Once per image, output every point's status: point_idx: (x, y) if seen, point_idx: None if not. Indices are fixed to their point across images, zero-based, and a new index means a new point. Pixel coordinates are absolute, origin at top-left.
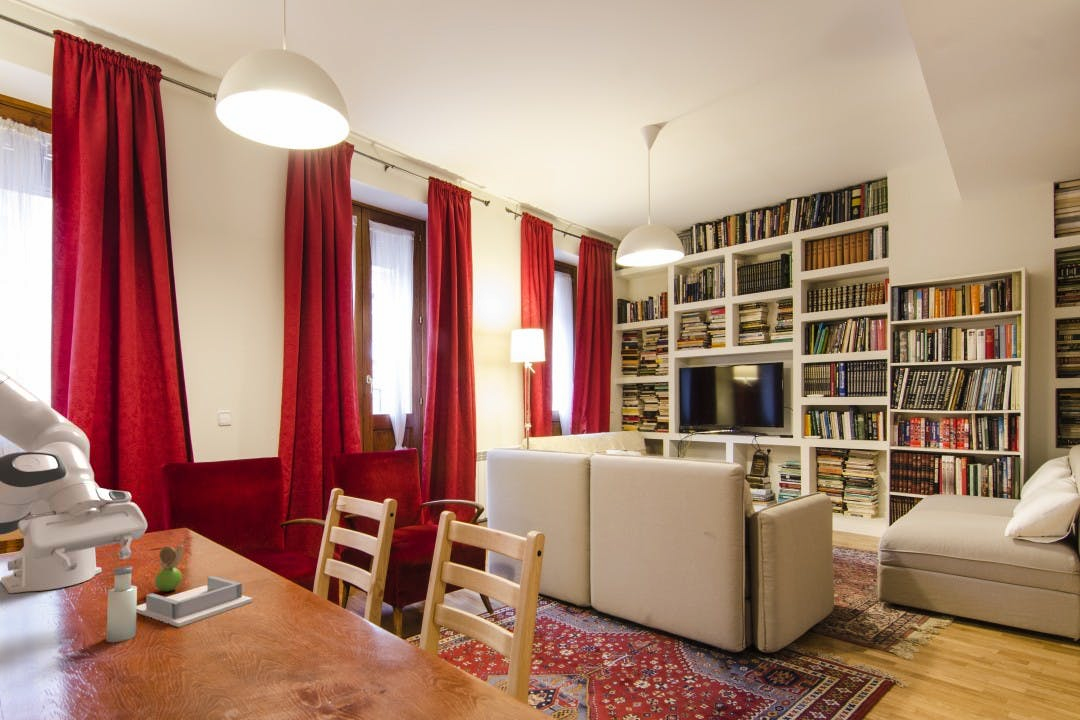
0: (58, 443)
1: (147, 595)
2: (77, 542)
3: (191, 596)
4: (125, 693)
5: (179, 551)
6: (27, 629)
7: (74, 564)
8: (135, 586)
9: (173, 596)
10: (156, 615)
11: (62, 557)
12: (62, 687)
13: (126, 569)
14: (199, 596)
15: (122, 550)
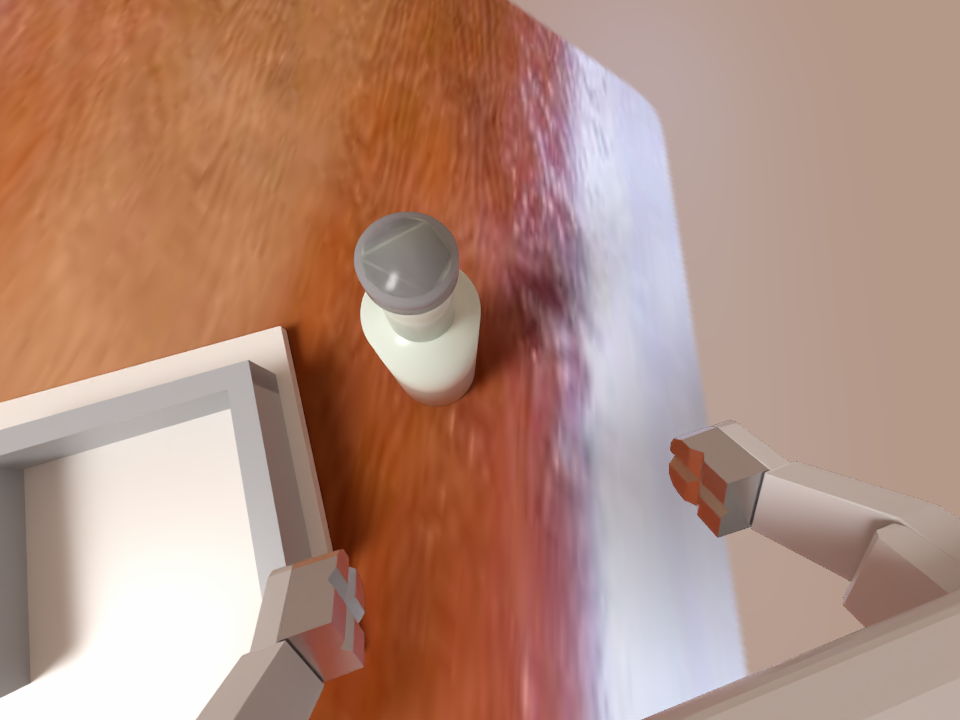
0: None
1: None
2: (835, 643)
3: (122, 635)
4: (478, 42)
5: None
6: None
7: (695, 432)
8: (364, 318)
9: (174, 704)
10: (309, 465)
11: (834, 476)
12: (577, 142)
13: (395, 221)
14: (143, 392)
15: (331, 590)
